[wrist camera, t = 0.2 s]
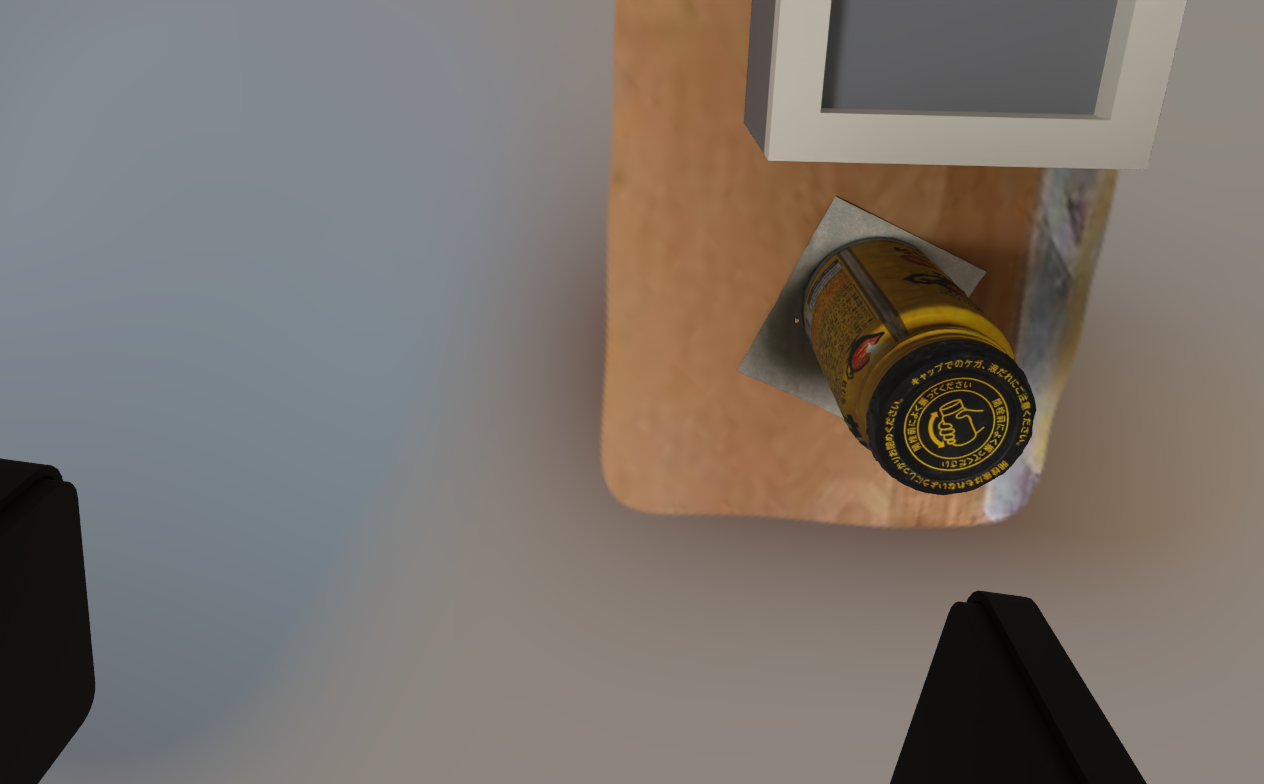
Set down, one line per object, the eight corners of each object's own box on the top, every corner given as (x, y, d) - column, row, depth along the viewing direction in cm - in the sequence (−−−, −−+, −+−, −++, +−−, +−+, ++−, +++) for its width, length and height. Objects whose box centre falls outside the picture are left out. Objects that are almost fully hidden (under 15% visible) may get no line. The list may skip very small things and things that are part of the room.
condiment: (985, 270, 40) (1111, 383, 30) (879, 433, 44) (957, 590, 33) (834, 195, 39) (907, 283, 28) (736, 368, 42) (768, 508, 31)
